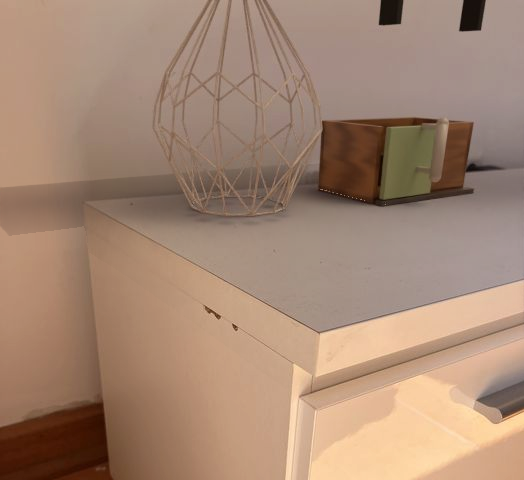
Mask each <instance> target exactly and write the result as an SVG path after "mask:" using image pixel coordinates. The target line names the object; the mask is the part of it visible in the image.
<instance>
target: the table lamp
mask: <svg viewBox="0 0 524 480" xmlns="http://www.w3.org/2000/svg"><path fill="white" fill-rule="evenodd" d="M212 1H213V0H207V1H206V2H205V4H204V6H203V8H202V9H201V11H200V12H199V14H198V16H197V17H196V19H195V21H194V23H193V24H192V26H191V27H190V29H189V31H188V33H187V34H186V36H185V38H184V39H183V41H182V43H181V44H180V46H179V48H178V49H177V50H176V53H175V54H174V56H173V58H172V59H171V61H170V62H169V64H168V66H167V67H166V69H165V71H164V75H163V76H162V77H163V78H162V80H161V83H160V86H159V89H158V92H157V95H156V98H155V101H154V105H153V116H152V130H153V132H154V134H155V136H156V138H157V140H158V142H159V144H160V147H161V149H162V151H163V153H164V155H165V157H166V159H167V162H168V163H169V166H170V168H171V170H172V172H173V174H174V176H175V178H176V180H177V182H178V184H179V186H180V188H181V190H182V192H183V194H184V196H185V198H186V201H187V202H188V204H189V206H190V209H193V210H196V211H198V212H201V213H202V214H210V215H217V216H224V217H255V216H262V215H269V214H270V215H272V214H275V213H278V212H280V211H283V210H285V209H286V207H287V206H288V203H289V201H290V199H291V197H292V195H293V193H294V191H295V189H296V187H297V185H298V183H299V181H300V180H301V179H300V178H301V177H302V175H303V172H304V171H305V169H306V167H307V165H308V163H309V161H310V158H311V156H312V154H313V152H314V149H315V148H316V146H317V143H318V141H319V139H320V138H321V132H322V130H323V129H322V120H323V119H322V118H323V117H322V109H321V104H320V100H319V97H318V95H317V91H316V88H315V85H314V82H313V79H312V76H311V74H310V72H309V70H308V68H307V66H306V64H305V62H304V61H303V60H302V58H301V56H300V54H299V52H298V51H297V49H296V48H295V46H294V45H293V43H292V41H291V39H290V37H289V35H288V34H287V32H286V31H285V29H284V27H283V26H282V24H281V22H280V21H279V19H278V17H277V15H276V13H275V11H274V10H273V8H272V7H271V4H270V3H269V1H268V0H254V3H255V5H256V8H257V10H258V13H259V15H260V17H261V20H262V24H263V26H264V29H265V31H266V33H267V34H266V35H267V36H268V39H269V41H270V43H271V46H272V49H273V51H274V54H275V57H276V60H277V62H278V64H279V68H280V69H281V72H282V75H283V79H284V82H283V84H281V86H280V87H279V88H278V89H275V88H274V87H273V86H272V85H270V84H269V83H268V82H267V81H266V80H264V78H262V74H261V68H260V63H259V62H260V61H259V57H258V52H257V47H256V40H255V35H254V30H253V29H254V28H253V25H252V18H251V13H250V7H249V2H248V0H242V4H243V12H244V20H245V26H246V33H247V40H248V48H249V55H250V61H251V62H250V63H251V70H252V73H251V74H250V75H248V76H247V77H246V78H244V79H243V80H242V81H240V82H239V83H238V84H237V85H235V84H234V83H233V82H232V81H231V80H229V79H228V78H227V77H226V76H225V75H223V74H222V72H223V65H224V57H225V50H226V43H227V37H228V29H229V23H230V15H231V10H232V9H231V8H232V0H228V1H227V6H226V14H225V19H224V20H225V21H224V24H223V25H224V26H223V32H222V37H221V44H220V49H219V56H218V61H217V68H216V71H215V72H214V73H213V74H212V75H210V76H208V78H207V79H205V80H204V81H203V82H202V81H201V80H200V79H199V78H198V77H197V76H196V75H195V74H194V73H193V69H194V67H195V64H196V62H197V60H198V56H199V54H200V52H201V49H202V47H203V44H204V41H205V39H206V36H207V34H208V31H209V29H210V26H211V25H212V21H213V19H214V16H215V14H216V12H217V9H218V6H219V4H220V1H221V0H214V1H213V3H212ZM211 3H212V5H211ZM210 5H211V7H210ZM264 6H265V7H264ZM209 7H210V9H209ZM265 8H266V9H265ZM208 9H209V12H208V14H207V16H206V18H205V20H204V22H203V25H202V27H201V29H200V31H199V34H198V36H197V38H196V39H195V43H194V44H193V47H192V49H191V51H190V53H189V55H188V58H187V60H186V62H185V64H184V66H183V68H182V70H181V74H180V78H179V81H178V83H176V84H175V85H174V86H173V88H172V86H171V82H170V81H171V80H170V77H171V74H172V72H173V70H174V68H175V66H177V63H178V61H179V59H180V58H181V56H182V54H183V53H184V51H185V49H186V47H187V45H188V44H189V42H190V40H191V38H192V37H193V35H194V33H195V31H196V30H197V28H198V26H199V25H200V23H201V21H202V19H203V17H204V16H205V14H206V13H207V10H208ZM266 10H267V11H268V13H269V15H270V17H271V18H272V19H271V20H272V21H273V22H274V24H275V27H276V28H277V29H278V32H279V33H280V35H281V36H282V39H283V40H284V42H285V44H286V45H287V47H288V49H289V51H290V53H291V55H292V57H293V58H294V60H295V61H296V63H297V66H298V67H299V69H300V71H301V73H302V76H301V78H298V76H297V75H296V73H295V72H294V69H293V67H292V65H291V63H290V61H289V58H288V56H287V54H286V52H285V50H284V47H283V46H282V44H281V41H280V39H279V36H278V35H277V32H276V30H275V28H274V26H273V24H272V21H271V20H270V17H269V15H268V13H267V11H266ZM265 19H266V20H265ZM266 21H267V23H268V24H267V23H266ZM267 25H269V27H270V29H271V31H272V32H271V33H272V34H273V36H274V39H275V40H276V42H277V44H278V47H279V49H280V51H281V53H282V55H283V58H284V60H285V61H286V62H285V63H286V65H287V66H288V68H289V71H290V75H289V77H288V78H287V76H286V72H285V69H284V67H283V64H282V61H281V59H280V56H279V54H278V52H277V48H276V46H275V44H274V41H273V38H272V35H271V33H270V30H269V28H268V26H267ZM205 28H206V29H205ZM204 30H205V31H204ZM203 32H204V33H203ZM202 34H203V36H202ZM201 37H202V39H201ZM200 39H201V40H200ZM199 41H200V44H199V46H198V49H197V52H196V54H195V56H194V59H193V61H192V64H191V66H190V69H189V71H188V72H187V73H186V74H185V71H186V69H187V67H188V65H189V62H190V61H191V59H192V56H193V54H194V52H195V49H196V47H197V45H198V43H199ZM251 41H252V42H251ZM251 43H252V44H251ZM252 48H253V50H252ZM253 53H254V57H253ZM254 58H255V63H256V69H257V73H256V72H255V63H254ZM191 76H192V77H193V78H194V79H195V80H196V81H197V82H198V83H199V85H198V86H197V87H195V88H194V89H193V90H192V91H190V92H189V93H188V89H189V85H190V80H191ZM251 77H252V78H253V79H252V80H253V90H254V99H252V98H251V97H250V96H249V95H248V94H247V93H245V92H244V91H243V90H242V89H240V86H241V85H243V84H244V83H245V82H246V81H247V80H249V79H250V78H251ZM213 78H215V84H214V92H212V91H211V90H210V89H209V88H207V86H206V84H207V83H209V82H210V81H211V80H212V79H213ZM256 78H257V79H258V84H259V85H258V86H259V94H260V104H261V105H260V104H259V103H258V95H257V82H256ZM186 79H187V81H186V84H185V90H184V94H183V97H182V98H181V99H180V100H179V101H178V98H179V94H180V90H181V86H182V84H183V82H184V81H185V80H186ZM222 79H223V80H224V81H225V82H226V83H228V84H229V85H230V86H231V87H232V88H231V89H230V90H229V91H227V92H226V93H225V94H224V95H222V96H221V84H222ZM291 79H293V82H294V86H295V91H294V92H293V94H292V97H291V94H290V89H289V85H288V83H289V81H291ZM303 80H305V83H306V86H307V87H306V86H305V84H304V83H303ZM262 83H264V84H265V85H266V86H267V87H269V88H270V89H271V90H272V91H273V92H275V93H274V94H273V95H272V96H271V97H270V99H269V100H268V101H267V102H266V104H265V103H264V94H263V84H262ZM300 87H302V88H303V90H304V91H305V92H306V93H307V94H308V96H309V97H310V99H311V102H312V106H313V107H312V108H313V118H314V119H313V121H314V127H313V130H312V132H311V133H310V137H309V139H308V141H307V143H306V145H305V148H304V149H303V151H302V149H301V145H302V142H303V140H304V138H305V137H304V136H305V134H306V125H305V123H306V122H305V110H304V109H305V108H304V105H303V101H302V98H301V93H300V90H299V89H300ZM167 88H168V90H169V92H167V93H166V90H167ZM201 88H204V89H205V91H207V92H208V94H209V95H210V96H211V97H212V98H213V103H212V104H213V105H212V126H211V127H210V128H209V130H207V132H206V134H205V135H204V136H203V137H202V139H201V140H200V141H199V142H198V143H197V145H196V147H194V146H193V145H192V144H191V141H190V137H189V134H188V131H187V128H186V124H185V107H186V106H185V105H186V100H187V99H189V98H190V97H191V96H192V95H193V94H195V93H196V92H197V91H199V90H200V89H201ZM284 88H286V94H287V97H286V96H285V95H283V94H282V93H280V92H281V91H282V90H283V89H284ZM176 89H177V90H176ZM175 90H176V94H175V97H174V95H173V92H174V91H175ZM235 90H236V91H237V92H239V93H240V94H241V95H242V96H244V97H245V98H246V99H247V100H248V101H250V102H251V103H252V104H253V105H254V106H255V107H254V109H255V123H254V134H253V140H252V141H251V142H250V143H249V144H246V142H245V141H243V140H242V139H241V138H240V137H239V136H238V135H237V134H236V133H234V132H233V131H232V130H231V129H230V128H229V127H228V126H227V125H225V124H224V123H223V122H222V121H221V120H220V102H221V101H222V100H223V99H224V98H226V96H228V95H230V94H231V93H232V92H234V91H235ZM165 93H166V95H165ZM187 93H188V94H187ZM213 93H214V94H213ZM296 95H297V98H298V102H299V106H300V110H301V111H300V112H301V123H302V126H301V127H302V134H301V137H300V140H299V139H298V136H297V132H296V129H295V125H294V122H293V106H292V103H293V102H294V99H295V97H296ZM169 96H170V100H171V105H172V117H171V131H169V130H168V129H167V128H166V127H165V126H164V125H162V124H161V118H162V117H161V116H162V103H163V102H164V101H165V100H166V99H167V98H168V97H169ZM220 96H221V97H220ZM277 96H279V97H281V98H282V99H283V100H284V101H286V102H287V103H288V104H289V115H290V116H289V117H290V122H289V123H287V124H286V125H285V126H284V127H282V128H281V129H280V130H279V131H277V132H276V133H274V134H273V135H272V136H270V137H269V136H267V134H266V123H265V121H266V120H265V110H266V109H267V108H268V107H269V105H270V104H272V102H273V101H274V99H276V97H277ZM177 101H178V102H177ZM158 102H159V105H158ZM181 104H182V109H181V110H182V111H181V123H182V126H183V130H184V133H185V137H186V139H185V138H184V137H182V136H181V135H180V134H179V133H178V132H176V131H175V119H176V117H175V116H176V108H177V107H178V106H180V105H181ZM216 105H217V107H216ZM157 106H158V107H159V108H158V119H157V126H158V129H159V133H160V136H161V138H160V136H159V133H158V131H157V128H156V126H155V125H156V114H157ZM316 106H317V107H318V117H319V119H318V120H319V128H320V129H319V130H318V131H317V133H316V134H315V131H316V129H317V126H318V121H317V109H316V108H317V107H316ZM258 109H259V110H260V111H261V124H262V126H261V127H262V129H261V130H262V134H260V135H259V136H258V137H257V129H258ZM216 114H217V115H216ZM220 124H221V126H223V127H224V128H225V129H226V130H227V131H228V132H230V133H231V135H232V136H234V137H235V138H236V139H237V140H238V141H239V142H240V143H241V144H243V145H244V146H245V147H244V148H242V150H240V151H238V153H236V154H235V155H233V156H232V158H230V159H228V160H227V161H226V162H225V163H224V156H223V155H224V153H223V147H222V146H223V145H222V135H221V127H220ZM216 125H217V132H218V141H219V151H220V160H221V166H220V160H219V154H218V147H217V139H216ZM287 128H288V130H287V134H286V138H285V142H284V145H283V149H282V151H281V152H280V151H279V149H278V148H277V147H276V146H275V144H274V143H273V141H271V140H272V139H274V138H275V137H277V136H278V135H279V134H280V133H281V132H283V131H284V130H286V129H287ZM291 130H292V131H293V134H294V138H295V142H296V145H297V148H296V151H295V152H294V156H293V159H292V161H291V164H290V163H289V161H288V160H287V159H286V157H284V155H285V152H286V148H287V145H288V140H289V136H290V133H291ZM211 131H212V139H213V145H214V154H215V161H216V165H215V164H214V163H213V162H212V161H211V160H209V159H208V158H207V157H206V156H205V155H204V154H202V153H201V151H199V150H198V148H199V147H200V146H201V144H202V143H203V142H204V140H206V138H207V137H208V135H209V134H210V133H211ZM165 132H166V133H167V134H168V135H169V136H170V143H169V141H168V139H167V137H166V134H165ZM314 134H315V136H314ZM313 136H314V137H313ZM260 139H261V142H260V143H261V144H260V145H259V146H257V148H256V143H257V142H258V141H259V140H260ZM173 141H175V144H176V147H177V149H178V152H179V155H180V158H181V160H182V163H183V166H184V169H185V171H186V174H187V176H188V179H189V181H190V184H191V189H190V188H189V186H188V184H187V182H186V180H185V178H184V175H183V173H182V171H181V169H180V166H179V164H178V162H177V161H176V158H175V156H174V153H173ZM267 143H268V144H270V146H271V147H272V148H273V150H274V151H275V152H276V153H277V154H278V156H279V157H280V159H279V163H278V165H277V169H276V172H275V175H274V179H273V182H272V185H271V189H270V191H268V187H267V185H266V181H265V179H264V176H263V173H262V170H261V165H262V158H263V151H264V146H265V145H266V144H267ZM185 144H186V145H187V146H188V147H189V148H188V147H187V146H186V145H185ZM180 146H181V147H183V148H184V149H185V150H186V151H188V152H189V153H190V155H191V156H190V157H191V174H190V171H189V168H188V166H187V163H186V161H185V158H184V155H183V153H182V149H181V147H180ZM251 147H252V148H251ZM259 149H260V150H259ZM247 150H249V151H250V152H251V154H250V155H249V157H248V158H247V160H246V162H245V164H244V165H243V167H242V168H241V169H240V172H239V173H238V175H237V176H236V178H235V180H234V181H233V183H232V184H231V183H230V181H229V180H228V179H227V177H226V173H225V167H227V166H228V165H229V164H230V163H232V162H233V161H234V160H235V159H237V158H238V157H239V156H240V155H242V154H244V152H245V151H247ZM258 150H259V158H257V156H256V152H257V151H258ZM309 151H310V152H309ZM195 153H196V154H197V155H198V156H200V157H201V158H202V159H204V160H205V161H206V162H207V163H208V164H209V165H211V167H213V168H214V169H215V170H216V174H215V176H214V177H213V176H212V175H211V173H210V172H209V171H208V170H207V168H206V167H205V165H204V164H203V163H202V162H201V161H200V160H199V158H198V157H197V156H196V154H195ZM298 153H299V156H298ZM307 154H308V155H307ZM297 156H298V157H297ZM306 156H307V158H306V160H305V162H304V165H303V167H302V169H301V166H302V163H303V160H304V158H305V157H306ZM172 160H173V162H174V164H175V166H176V167H175V166H174V164H173V163H172ZM250 160H251V165H250V173H249V182H248V183H249V184H248V193H247V195H251V189H252V181H253V179H252V178H253V171H254V170H253V169H254V162H255V164H256V166H257V171H256V178H255V184H254V189H253V190H254V191H253V195H251V196H239V195H240V194H239V193H238V192H237V191H236V190H235V188H234V186H235V185H236V183H237V181H238V180H239V178H240V177H241V175H242V173H243V172H244V170H245V169H246V167H247V166H248V163H249V162H250ZM254 160H255V161H254ZM282 161H284V163H285V164H286V165H287V166H288V167H289V168H288V169H287V170H286V171H285V172H284V174H283V175H282V176H281V177H280V178H279V180H278V181H277V177H278V174H279V171H280V168H281V165H282ZM198 164H199V165H200V167H201V168H202V169H203V170H204V171H205V172H206V175H208V176H209V178H210V180H212V181H213V182H212V185H211V187H210V190H209V192H208V196H207V193H206V189H205V187H204V183H203V180H202V177H201V173H200V170H199V167H198ZM194 167H195V168H194ZM194 169H196V170H195V171H196V173H197V176H198V180H199V182H200V185H201V188H202V193H203V196H204V197H202V198H200V196H199V194H198V191H197V189H196V187H195V180H194V179H195V173H194V172H195V171H194ZM300 169H301V171H300ZM221 170H222V171H221ZM294 171H295V172H294ZM299 171H300V173H299ZM293 172H294V174H293V176H292V173H293ZM298 174H299V175H298ZM291 176H292V178H291ZM222 178H223V181H222ZM260 178H261V181H262V184H263V187H264V190H265V193H266V196H264V197H265V198H261V197H262V196H259V197H256V196H257V191H258V184H259V179H260ZM217 179H218V181H219V183H218V182H217ZM276 181H277V183H276ZM275 183H276V184H275ZM215 185H216V186H217V188H218V189H219V190H220V193H221V196H222V197H214V196H215V195H214V196H211V195H212V192H213V189H214V187H215ZM227 185H228V186H229V190H228V189H227ZM223 186H224V187H223ZM285 187H286V192H285V194H284V196H283V199H282V201H281V197H282V195H283V193H284V190H285ZM223 188H224V190H223ZM280 188H281V189H280ZM279 189H280V192H279V195H278V197H277V199H275V198H273V197H274V195H275V194H276V193H277V192H278V190H279ZM231 192H233V193H234V195H236V196H224V195H230V193H231ZM252 196H254V197H252ZM207 197H208V198H207ZM210 197H213V198H210ZM204 198H206V199H204ZM220 198H221V200H222V207H223V212H216V211H215V212H214V211H208V210H206V209H207V207H208V203H209V201H210V200H211V199H220ZM225 198H238V200H239V201H240V203H241V204H242V205H243V206H244V208H245V209H246V211H247V212H248V213H227V209H226V202H225ZM242 198H252V204H251V210H250V209H249V207H248V206H247V205H246V204H245V202H244V200H243V199H242ZM269 198H271V199H269ZM201 199H202V200H201ZM256 199H261V200H262V201H261V202H260V203H258V205H257V207H255V204H256ZM272 199H274V200H272ZM205 200H206V201H205ZM266 200H270V201H272V202H275V206H274V208H273V209H272V211H265V212H257V211H258V210H259V209H260V207H262V205H263V204H264V203H265V201H266ZM275 200H277V201H275ZM194 201H195V202H194ZM203 201H205V203H204V206H203V204H202V202H203ZM279 201H281V202H279ZM283 202H284V204H283ZM192 203H193V204H194V205H193V204H192ZM195 204H196V205H197V206H198V207H195ZM279 204H281V206H282V207H279V208H278V209H277V207H278V205H279ZM282 204H283V205H282ZM284 207H285V208H284ZM282 208H283V209H282Z"/></svg>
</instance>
